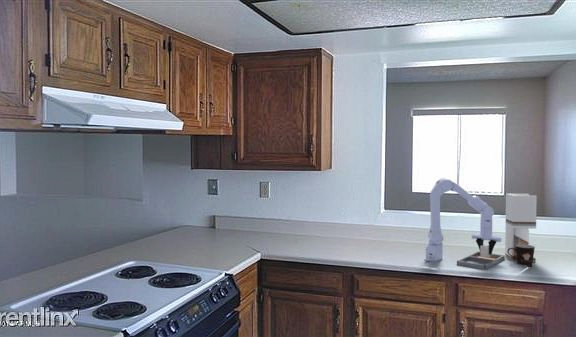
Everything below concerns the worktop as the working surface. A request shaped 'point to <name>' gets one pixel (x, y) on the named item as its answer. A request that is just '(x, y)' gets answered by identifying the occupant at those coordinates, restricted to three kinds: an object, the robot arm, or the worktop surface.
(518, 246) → the coffee mug
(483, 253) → the white rectangular block
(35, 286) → the worktop surface
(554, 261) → the worktop surface
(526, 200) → the coffee maker
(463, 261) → the tray
